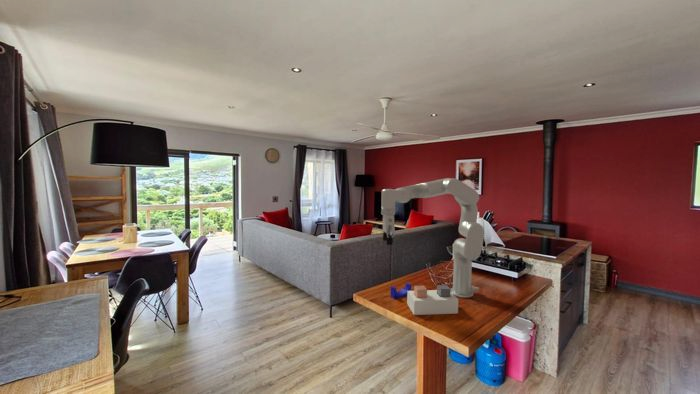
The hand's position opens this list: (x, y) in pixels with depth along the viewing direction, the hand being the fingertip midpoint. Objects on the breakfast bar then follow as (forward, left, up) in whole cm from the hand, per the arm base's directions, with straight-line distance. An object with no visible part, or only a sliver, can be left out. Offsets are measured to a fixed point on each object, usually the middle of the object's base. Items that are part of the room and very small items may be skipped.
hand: (387, 242), depth 157 cm
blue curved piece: (-8, -1, -31) cm, 32 cm away
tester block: (-20, +16, -30) cm, 40 cm away
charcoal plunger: (-26, +16, -26) cm, 40 cm away
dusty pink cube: (-14, +16, -26) cm, 33 cm away
